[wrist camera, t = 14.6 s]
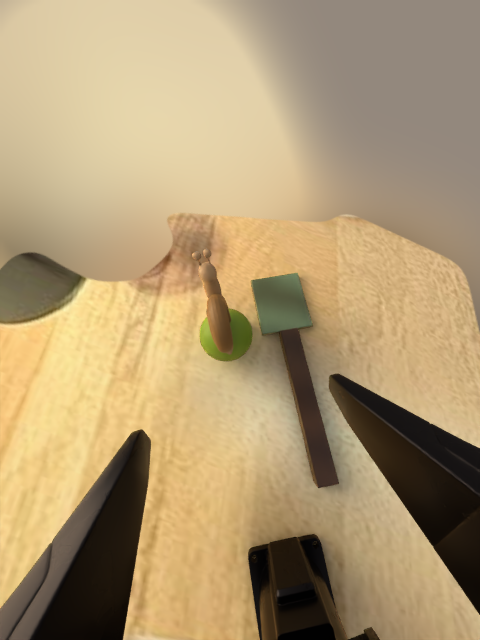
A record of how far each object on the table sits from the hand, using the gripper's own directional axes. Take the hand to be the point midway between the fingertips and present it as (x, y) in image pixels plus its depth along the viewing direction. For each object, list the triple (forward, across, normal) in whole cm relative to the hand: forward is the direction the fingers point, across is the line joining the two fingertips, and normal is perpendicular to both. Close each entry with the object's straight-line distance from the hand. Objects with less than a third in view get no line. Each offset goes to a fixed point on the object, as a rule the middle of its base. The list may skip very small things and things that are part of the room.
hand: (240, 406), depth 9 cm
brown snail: (+13, 0, +5) cm, 14 cm away
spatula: (+9, -6, +8) cm, 14 cm away
